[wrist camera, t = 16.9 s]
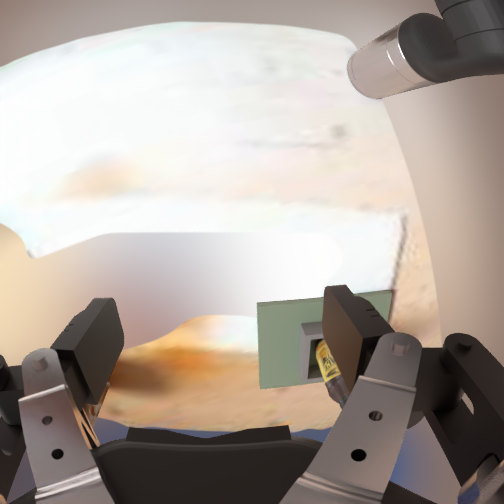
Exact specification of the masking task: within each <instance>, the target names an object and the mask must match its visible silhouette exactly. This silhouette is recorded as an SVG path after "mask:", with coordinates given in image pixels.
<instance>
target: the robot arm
mask: <svg viewBox="0 0 504 504" xmlns="http://www.w3.org/2000/svg"><path fill="white" fill-rule="evenodd" d="M435 3H436V5H437V7H438V9H439V12H440V14H441V16H442V18H443V19H441V18H439V17H437V16H435V15H432V14H429V13H419V14H415V15H413V16H411V17H409V18H408V19H406V20H404V21H403V22H401V23H399V24H398V25H396V26H395V27H393V28H392V29H390V30H389V31H387V32H385V33H384V34H382V35H381V36H379V37H378V38H376V39H375V40H373V41H372V42H371V43H369V44H368V45H366V46H364V47H363V48H361V49H360V50H359V51H357V52H356V53H354V54H353V55H352V56H351V58H350V59H349V61H348V65H347V71H348V76H349V79H350V81H351V83H352V84H353V86H354V87H355V88H356V89H357V90H358V91H359V92H360V93H361V94H363V95H365V96H366V97H369V98H374V99H379V98H383V97H387V96H391V95H395V94H399V93H402V92H406V91H410V90H414V89H418V88H422V87H426V86H430V85H434V84H438V83H443V82H448V81H452V80H455V79H460V78H465V77H471V76H483V75H496V74H504V0H435ZM322 332H323V337H324V339H325V341H326V343H327V345H328V348H329V350H330V352H331V354H332V356H333V358H334V360H335V362H336V364H337V367H338V369H339V371H340V373H341V375H342V377H343V379H344V382H345V384H346V386H347V388H348V390H349V392H350V396H349V398H348V400H347V401H346V403H345V405H344V407H343V409H342V411H341V413H340V415H339V417H338V418H337V420H336V422H335V424H334V426H333V427H332V429H331V431H330V433H329V434H328V436H327V438H326V439H325V441H324V443H321V442H319V441H316V440H312V439H308V438H303V437H297V436H291V435H290V430H289V426H288V425H285V426H276V427H265V428H253V429H246V430H242V431H238V432H234V433H230V434H225V435H221V436H217V437H212V438H199V437H194V436H189V435H185V434H181V433H176V432H172V431H168V430H158V429H143V428H131V427H129V430H128V434H127V437H126V438H125V439H119V440H114V441H111V442H107V443H105V444H102V445H100V443H99V441H98V439H97V437H96V435H95V433H94V430H93V428H92V426H91V424H90V422H89V420H88V417H87V415H86V413H85V411H84V409H83V407H84V405H85V404H93V405H98V403H99V401H100V398H101V396H102V393H103V391H104V389H105V387H106V384H107V382H108V380H109V377H110V375H111V373H112V371H113V369H114V366H115V364H116V362H117V360H118V358H119V355H120V353H121V351H122V349H123V346H124V333H123V329H122V326H121V322H120V318H119V314H118V311H117V306H116V303H115V300H114V299H113V298H94V299H93V300H92V301H91V303H90V304H89V305H88V306H87V308H86V309H85V310H84V311H82V312H80V313H79V314H77V315H76V316H74V318H73V319H72V320H71V321H70V323H69V325H67V326H66V328H65V329H64V331H63V332H62V333H61V334H60V335H59V337H58V338H57V339H56V340H55V342H54V343H53V344H52V346H51V347H50V348H42V349H38V350H35V351H33V352H31V353H30V354H28V355H27V356H26V357H25V358H24V360H23V361H22V365H19V366H10V367H8V365H7V363H6V361H5V359H4V357H3V356H2V355H0V415H1V418H0V504H6V500H7V497H8V494H9V491H10V489H11V486H12V483H13V480H14V477H15V475H16V472H17V470H18V467H19V464H20V462H21V459H22V457H23V454H24V452H25V450H26V448H27V452H28V457H29V461H30V465H31V469H32V472H33V476H34V480H35V483H36V486H37V487H36V488H34V489H32V490H31V491H29V492H28V493H26V494H24V495H23V496H21V497H19V498H18V499H16V500H14V501H13V502H11V503H9V504H436V503H434V502H432V501H430V500H427V499H426V498H423V497H421V496H419V495H417V494H415V493H413V492H411V491H409V490H407V489H405V488H403V487H401V486H399V485H397V484H395V483H393V482H391V481H390V480H389V479H390V477H391V474H392V471H393V468H394V466H395V463H396V460H397V457H398V454H399V451H400V448H401V445H402V442H403V439H404V435H405V432H406V428H407V425H408V421H409V418H410V414H411V412H419V411H422V412H423V414H424V416H425V417H426V419H427V421H428V423H429V425H430V427H431V428H432V430H433V432H434V434H435V436H436V438H437V439H438V442H439V443H440V445H441V447H442V449H443V451H444V453H445V455H446V457H447V459H448V461H449V463H450V465H451V467H452V469H453V471H454V473H455V475H456V477H457V479H458V481H459V483H460V486H461V488H460V490H459V492H458V497H457V503H458V504H504V367H503V366H502V365H501V364H500V363H499V362H498V361H497V360H496V358H495V357H494V356H493V355H492V354H491V353H490V352H489V351H488V350H487V349H486V348H485V347H484V346H483V345H482V344H481V343H480V342H479V341H478V340H477V339H476V338H474V337H472V336H470V335H468V334H463V333H454V334H450V335H449V336H447V337H446V339H445V341H444V344H443V347H442V348H422V345H421V343H420V342H419V340H417V339H416V338H415V337H413V336H411V335H409V334H405V333H400V332H395V331H394V330H393V329H392V328H391V326H390V325H389V324H388V323H387V322H386V320H385V319H384V318H383V317H382V316H380V313H379V312H378V311H377V310H376V309H375V307H374V306H373V305H372V304H371V303H370V301H368V300H366V299H364V298H362V297H361V296H354V294H353V293H352V292H351V291H350V289H349V288H348V287H347V286H346V285H336V286H326V287H325V290H324V302H323V315H322ZM464 392H465V393H466V394H467V396H468V398H469V399H470V400H471V402H472V404H473V407H474V414H472V413H471V412H470V410H469V409H468V407H467V406H466V404H465V403H464V401H463V400H462V396H463V394H464Z"/></svg>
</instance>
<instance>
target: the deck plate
mask: <svg viewBox="0 0 504 504" xmlns="http://www.w3.org/2000/svg"><path fill="white" fill-rule="evenodd" d="M354 296H361V297H362V298H364V299H366V300H368V301H370V303H371V304H372V305H373V306H374V307H375V309H376V310H377V311H378V312H379V313H380V316H382V317H383V318H384V319H385V320H386V322H387V320H388V315H389V310H390V304H391V298H392V292H391V291H389V290H385V291H376V292H368V293H359V294H354ZM323 302H324V297H320V298H311V299H310V298H309V299H299V300H287V301H273V302H260V303H257V324H258V352H259V380H260V389H267V388H277V387H287V386H296V385H304V384H311V383H318V382H324V379H323V376H322V373H321V370H320V367H319V364H318V361H317V358H316V355H315V345H316V342H317V340H318V339H321V338H324V337H323V332H322V315H323Z"/></svg>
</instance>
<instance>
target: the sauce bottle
mask: <svg viewBox="0 0 504 504" xmlns="http://www.w3.org/2000/svg"><path fill="white" fill-rule="evenodd" d="M315 355H316V358H317V361H318V364H319V367H320V370H321V373H322V376H323V379H324V382H325V385H326V387H327V389H328V393H329V396H330V397H331V398H332V399H333V400H334V401H336V402H337V403H339V404H340V407H341V408H342V409H343V407H344V405H345V403H346V401H347V400H348V398H349V396H350V392H349V390H348V388H347V386H346V384H345V382H344V379H343V377H342V375H341V373H340V371H339V369H338V367H337V364H336V362H335V360H334V358H333V356H332V354H331V352H330V350H329V348H328V345H327V343H326V341H325V339H324V338H321V339H318V340H317V342H316V345H315Z"/></svg>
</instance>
